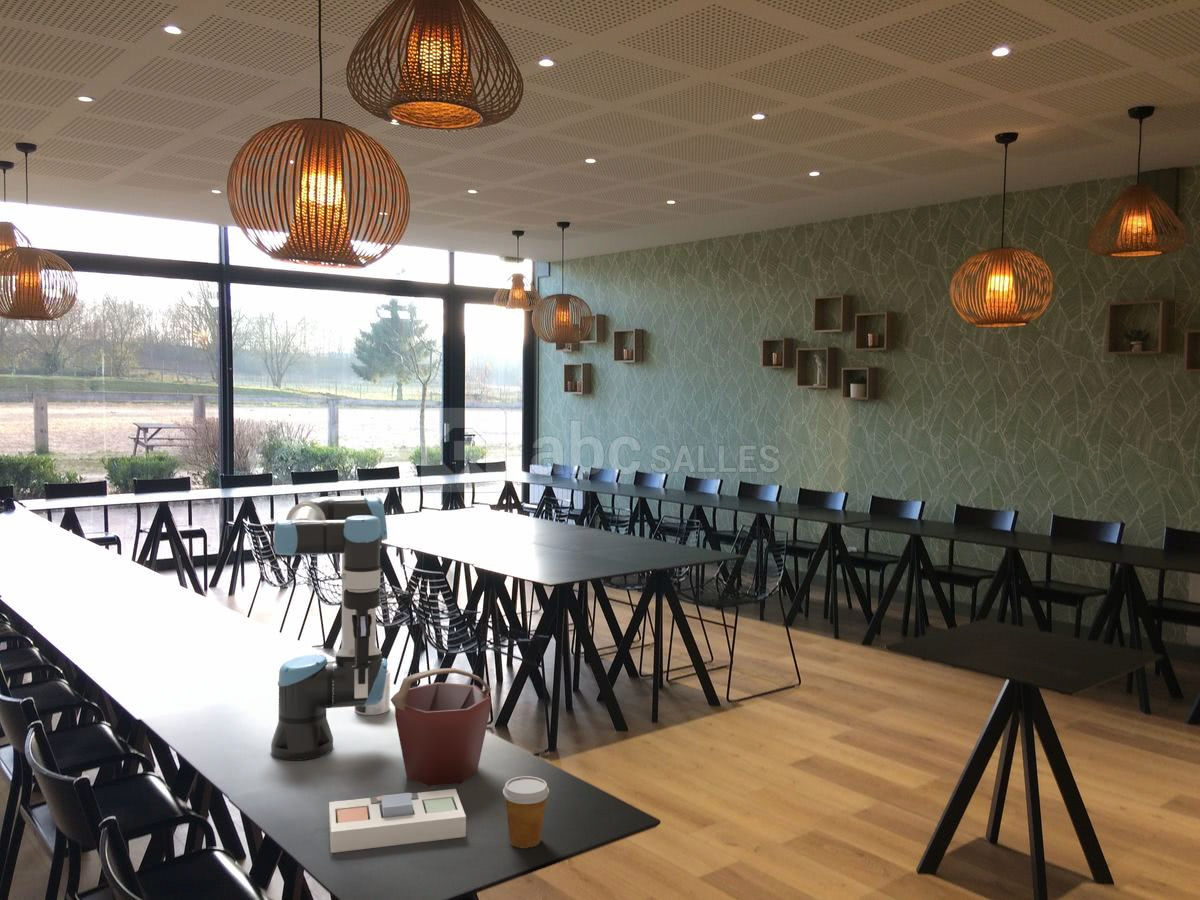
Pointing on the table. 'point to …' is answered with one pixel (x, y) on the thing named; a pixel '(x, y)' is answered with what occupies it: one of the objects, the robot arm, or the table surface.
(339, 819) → the terracotta key
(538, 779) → the disposable coffee cup
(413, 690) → the bucket
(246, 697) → the table surface
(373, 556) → the robot arm
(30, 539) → the table surface
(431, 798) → the keypad
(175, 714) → the table surface
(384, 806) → the slate key
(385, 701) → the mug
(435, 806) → the sage key
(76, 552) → the table surface
